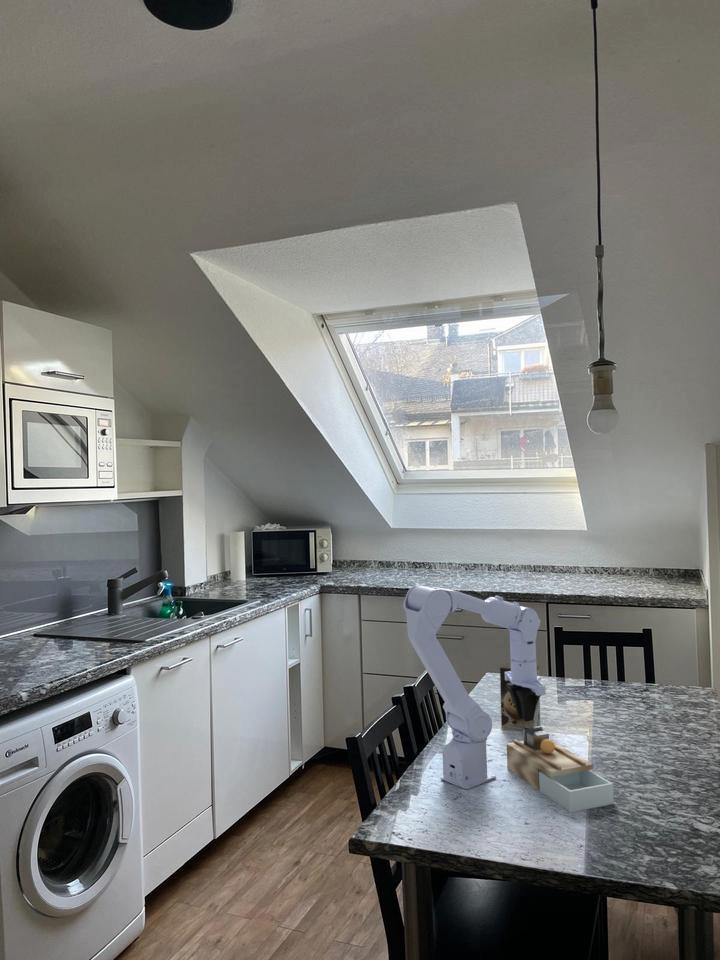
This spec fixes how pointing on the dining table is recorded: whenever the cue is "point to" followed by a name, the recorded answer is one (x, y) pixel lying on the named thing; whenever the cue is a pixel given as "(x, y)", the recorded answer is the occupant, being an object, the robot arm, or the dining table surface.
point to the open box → (577, 790)
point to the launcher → (542, 762)
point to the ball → (547, 746)
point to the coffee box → (513, 706)
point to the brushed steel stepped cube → (534, 737)
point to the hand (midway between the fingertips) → (525, 719)
